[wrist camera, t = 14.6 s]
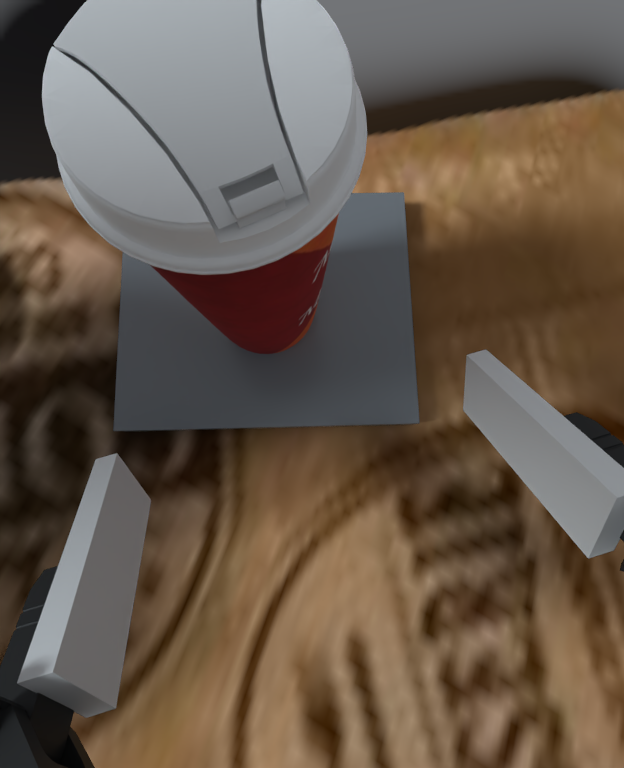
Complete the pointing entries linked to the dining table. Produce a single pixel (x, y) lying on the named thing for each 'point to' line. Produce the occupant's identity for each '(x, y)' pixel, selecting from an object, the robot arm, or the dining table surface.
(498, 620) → the dining table surface
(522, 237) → the dining table surface
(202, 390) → the slate board
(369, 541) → the dining table surface
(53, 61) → the coffee cup
